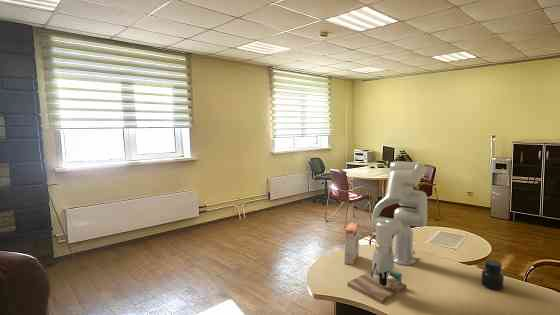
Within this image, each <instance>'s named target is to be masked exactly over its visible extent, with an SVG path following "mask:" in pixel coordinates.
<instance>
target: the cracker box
mask: <svg viewBox="0 0 560 315" xmlns="http://www.w3.org/2000/svg"><path fill="white" fill-rule="evenodd" d="M359 235H360V223H357V222H349V223H348V225H347V226H346V227H345V229H344V264H345V265H351V266H355V264H356V262H357V259H358V257H359V247H360V246H359V243H360V242H359V239H360V238H359V237H360V236H359Z"/></svg>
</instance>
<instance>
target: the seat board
mask: <svg viewBox="0 0 560 315" xmlns="http://www.w3.org/2000/svg"><path fill="white" fill-rule="evenodd" d="M389 275H390V276H392V277H393V278H395V279H397V280H398V288H396V289H391V288H390V287H388V286H383V285H381V284H380V283H379V281H378V280H377V279H375V278H373V277H372V276H371V270H370V271H368V272H366V273H364V274H362V275H360V276H357V277H356V278H354V279H351V280H349V281H347V287H349V288H350V289H353V290H354V291H356V292H358V293H360V294H362V295H364V296H366V297H368V298H370V299H372V300H374V301H376V302H378V303H379V304H381V305H382V304H383V305H384V303H386V302H388V301H389V300H391V299H392V298H394V297H396V296H398V295H399V294H400V293H402V292H404V291H405V290H407V284H406V283H403V282H402V273H401V272H399V271H396V270H394V269H392V271H391V272H389Z"/></svg>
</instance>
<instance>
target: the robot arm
mask: <svg viewBox="0 0 560 315" xmlns="http://www.w3.org/2000/svg"><path fill="white" fill-rule="evenodd" d="M389 170H390V172H389V173H388V177H387V178H388V179H387V184H386V188H385V194H384V196H383V198H382V199H380V200H379V201H378V202H377V203H376V204H375V207H374V208H373V211H372V214H371V220H370V226H371V229H372V231H375V249H374V250H373V255H372V264H371V268H372V270H375V271H374V274H375V275H378V276H380V278H379V283H380V284H381V285H383V286H386V285H387V277H388V275H390V272H391V271H392V270H394V265H395V264H398V265H403V266H412V265H415V263H416V258H414V257H413V256H414V255H416V251H415V250H413V248H414V245H413V244H414V242H413V241H414V240H413V238H414V232H413V229H412V227H417V228H423V227H426V225H427V223H428V195H427V194H426V192H425V191H422V190H414V188H416V187H417V186H418V185H419V183H420V181H421V179H422V178H423V175H424V171H425V167H424V164H422V163H421V162H418V161H406V160H405V161H402V160H401V161H400V160H397V161H396V160H395V161H392V162H390V164H389ZM395 204H398V205H399V206H402V207H398V208H397V207H396V209H394V212H393V218H391V217H385V216H380V214H381V212H382V210H383V209H385V208H386V207H389V206H392V205H395ZM393 236H394V237H395V239H394V246H393ZM393 247H394V251H393Z"/></svg>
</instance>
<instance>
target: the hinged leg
mask: <svg viewBox="0 0 560 315" xmlns="http://www.w3.org/2000/svg"><path fill="white" fill-rule="evenodd" d="M370 271H371V276H372V277H373V278H375V279H377V280H378V281H379V278H380V276H378V275H375V274H374V271H375V270H372V267H371V268H370ZM386 286H388V287H390V288H391V289H396V288H398V280H397V279H395V278H393V277H392V276H390V274H388V277H387V285H386Z"/></svg>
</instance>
